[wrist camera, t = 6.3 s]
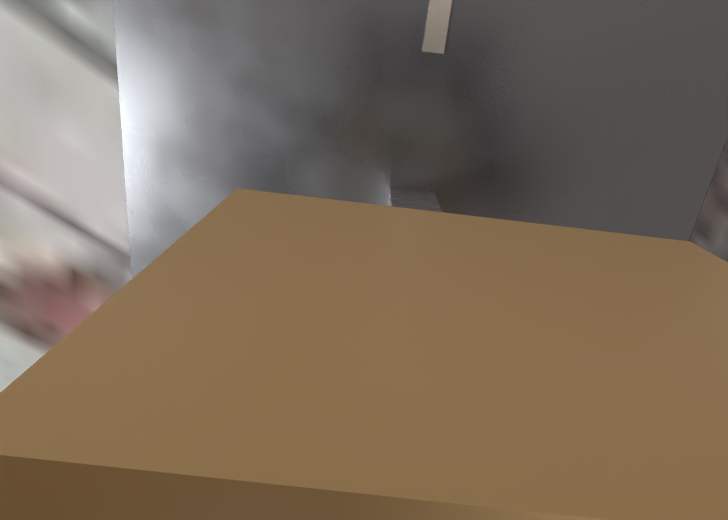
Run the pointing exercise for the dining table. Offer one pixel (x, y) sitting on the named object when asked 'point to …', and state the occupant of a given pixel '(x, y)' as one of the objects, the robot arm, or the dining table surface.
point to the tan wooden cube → (383, 376)
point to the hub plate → (423, 108)
